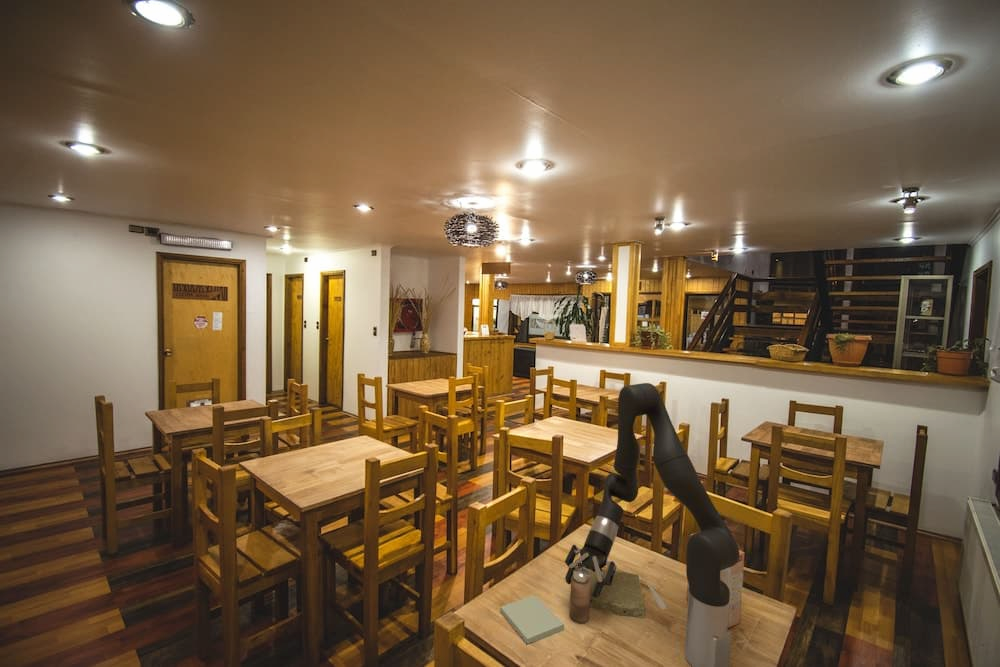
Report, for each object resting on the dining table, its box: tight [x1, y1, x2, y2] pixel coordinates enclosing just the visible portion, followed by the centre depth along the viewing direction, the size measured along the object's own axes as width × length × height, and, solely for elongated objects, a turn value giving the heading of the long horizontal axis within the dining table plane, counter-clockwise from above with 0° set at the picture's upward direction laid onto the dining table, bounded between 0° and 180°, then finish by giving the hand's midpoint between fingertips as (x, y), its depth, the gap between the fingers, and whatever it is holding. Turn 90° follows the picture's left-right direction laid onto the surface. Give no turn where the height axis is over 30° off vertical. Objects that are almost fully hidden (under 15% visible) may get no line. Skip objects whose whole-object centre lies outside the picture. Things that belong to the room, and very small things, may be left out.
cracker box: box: [686, 532, 745, 629], centre depth 131 cm, size 14×6×21 cm, turn 27°
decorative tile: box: [582, 567, 646, 619], centre depth 138 cm, size 19×20×4 cm
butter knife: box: [646, 581, 667, 611], centre depth 145 cm, size 1×27×3 cm
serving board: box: [499, 594, 565, 645], centre depth 125 cm, size 14×12×2 cm
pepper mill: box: [568, 568, 591, 625], centre depth 127 cm, size 6×6×13 cm
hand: (580, 589), depth 127 cm, fingers open, 8 cm apart
